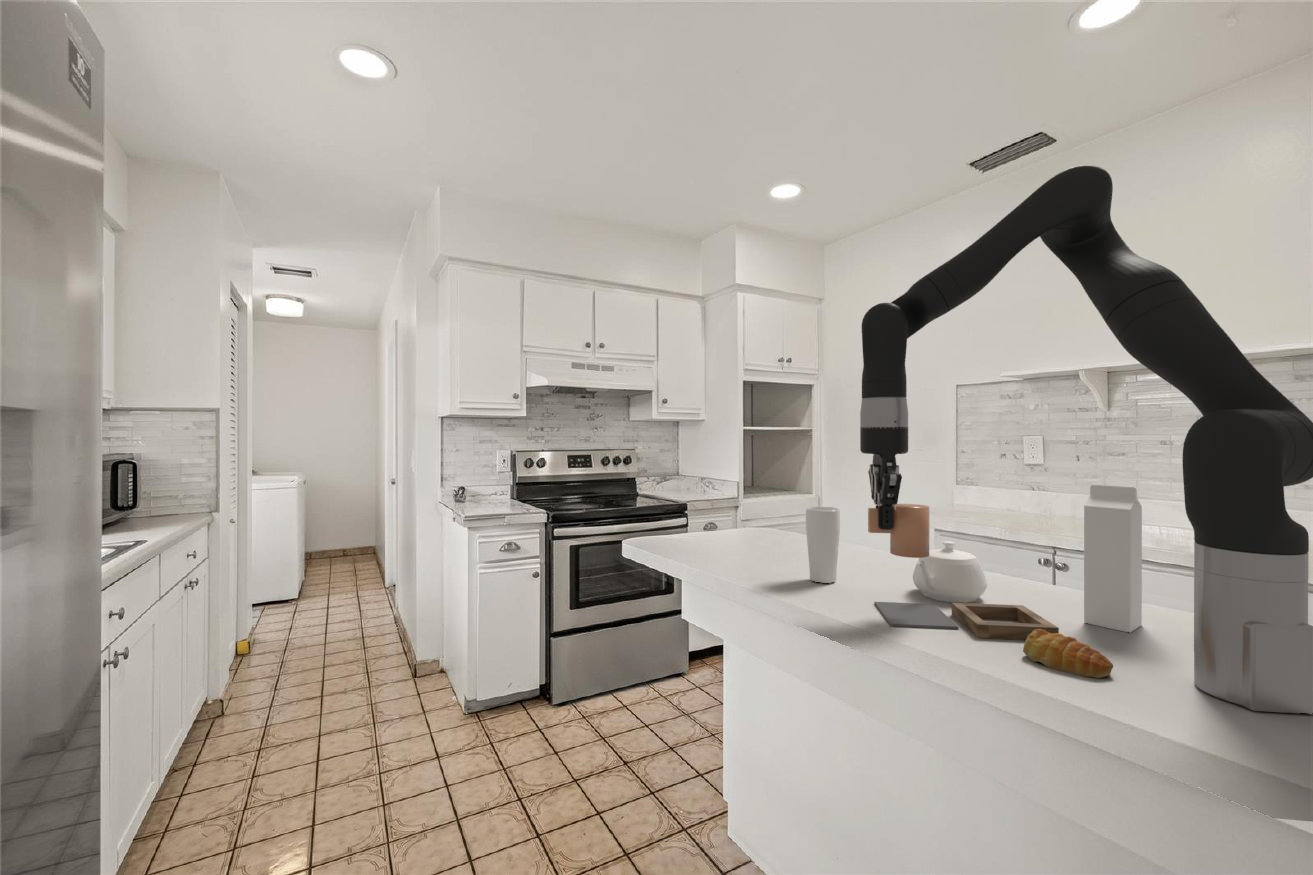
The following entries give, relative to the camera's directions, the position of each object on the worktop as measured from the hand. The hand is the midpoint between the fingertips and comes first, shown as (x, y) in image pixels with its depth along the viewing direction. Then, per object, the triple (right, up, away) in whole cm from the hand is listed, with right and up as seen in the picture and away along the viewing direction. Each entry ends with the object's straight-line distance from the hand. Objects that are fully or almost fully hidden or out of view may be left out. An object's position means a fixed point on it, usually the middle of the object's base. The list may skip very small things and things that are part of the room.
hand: (884, 527), depth 97 cm
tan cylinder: (+2, -4, 0) cm, 5 cm away
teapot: (+16, -15, +11) cm, 24 cm away
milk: (+34, -15, -5) cm, 38 cm away
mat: (+5, -15, -1) cm, 15 cm away
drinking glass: (-4, -15, +22) cm, 27 cm away
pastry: (+16, -15, -20) cm, 30 cm away
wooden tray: (+16, -15, -6) cm, 22 cm away
